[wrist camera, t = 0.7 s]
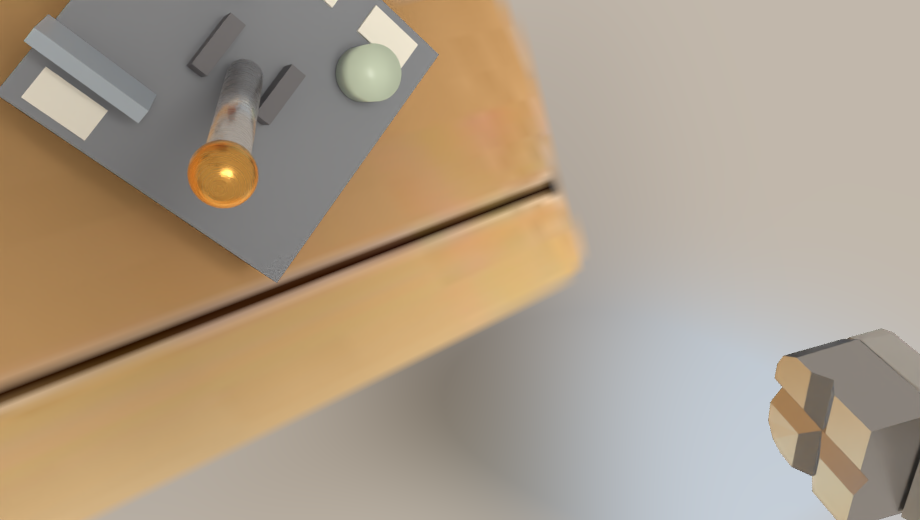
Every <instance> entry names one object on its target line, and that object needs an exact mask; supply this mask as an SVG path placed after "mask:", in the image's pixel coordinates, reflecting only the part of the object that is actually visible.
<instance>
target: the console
mask: <svg viewBox="0 0 920 520" xmlns="http://www.w3.org/2000/svg"><path fill="white" fill-rule="evenodd" d="M56 20H57V21H58V22H60V23H61V24H62V25H64V26H65V27H66V28H68V29H69V30H70V31H72V32H73V33H74V34H76V35H77V36H79V37H80V38H81V39H83V40H84V41H85V42H87V43H88V44H89V45H91V46H92V47H93V48H95V49H96V50H97V51H99V52H100V53H101V54H103V55H104V56H105V57H107V58H108V59H109V60H111V61H112V62H113V63H115V64H116V65H117V66H119V67H120V68H121V69H123V70H124V71H125V72H127V73H128V74H129V75H131V76H132V77H134V78H135V79H136V80H138V81H139V82H140V83H142V84H143V85H144V86H146V87H147V88H148V89H150V90H151V91H152V92H154V93H155V94H156V97H155V99H154V101H153V103H152V105H151V107H150V109H149V111H148V113H147V114H146V115H145V116H144V117H143V118H142V120H141V121H140V122H139V123H137V122H136V121H134V120H133V119H132V118H130V117H129V116H127V115H126V114H125V113H123V112H122V111H120V110H119V109H118V108H116V107H115V106H113V105H112V104H111V103H109V102H108V101H106V100H105V99H104V98H102V97H101V96H99V95H98V94H97V93H95V92H94V91H93V90H91V89H90V88H88V87H87V86H86V85H84V84H83V83H81V82H80V81H79V80H77V79H76V78H74V77H73V76H72V75H70V74H69V73H67V72H66V71H65V70H63V69H62V68H60V67H59V66H58V65H56V64H55V63H53V62H52V61H51V60H49V59H48V58H47V57H45V56H44V55H42V54H41V53H40V52H38V51H37V50H35V49H34V48H33V47H32V48H31V50H30V51H29V52H28V53H27V55H26V56H25V57H24V58H23V60H22V61H21V62H20V63H19V64H18V66H17V67H16V68H15V69H14V71H13V72H12V73H11V74H10V76H9V77H8V78H7V79H6V80H5V82H4V83H3V84H2V85H1V87H0V97H1V98H2V99H4V100H5V101H7V102H8V103H10V104H11V105H13V106H14V107H16V108H17V109H19V110H20V111H22V112H23V113H25V114H26V115H28V116H29V117H31V118H32V119H34V120H35V121H36V122H38V123H39V124H41V125H42V126H44V127H45V128H47V129H48V130H50V131H51V132H53V133H54V134H56V135H57V136H59V137H60V138H62V139H63V140H65V141H66V142H68V143H69V144H71V145H72V146H74V147H75V148H77V149H78V150H80V151H81V152H83V153H84V154H86V155H87V156H89V157H90V158H91V159H93V160H94V161H96V162H97V163H99V164H100V165H102V166H103V167H105V168H106V169H108V170H109V171H111V172H112V173H114V174H115V175H117V176H118V177H120V178H121V179H123V180H124V181H126V182H127V183H129V184H130V185H132V186H133V187H135V188H136V189H138V190H139V191H141V192H142V193H144V194H145V195H146V196H148V197H149V198H151V199H152V200H154V201H155V202H157V203H158V204H160V205H161V206H163V207H164V208H166V209H167V210H169V211H170V212H172V213H173V214H175V215H176V216H178V217H179V218H181V219H182V220H184V221H185V222H187V223H188V224H190V225H191V226H193V227H194V228H196V229H197V230H199V231H200V232H202V233H203V234H204V235H206V236H207V237H209V238H210V239H212V240H213V241H215V242H216V243H218V244H219V245H221V246H222V247H224V248H225V249H227V250H228V251H230V252H231V253H233V254H234V255H236V256H237V257H239V258H240V259H242V260H243V261H245V262H246V263H248V264H249V265H251V266H252V267H254V268H255V269H257V270H258V271H260V272H261V273H263V274H264V275H266V276H267V277H269V278H270V279H272V280H273V281H275V282H276V283H277V282H278V280H279V279H280V278H281V276H282V275H283V273H284V272H285V271H286V269H287V268H288V266H289V265H290V264H291V262H292V261H293V259H294V258H295V257H296V255H297V254H298V252H299V251H300V249H301V248H302V247H303V245H304V244H305V242H306V241H307V240H308V238H309V237H310V235H311V234H312V233H313V231H314V230H315V228H316V227H317V226H318V224H319V223H320V221H321V220H322V218H323V217H324V216H325V214H326V213H327V211H328V210H329V209H330V207H331V206H332V204H333V203H334V202H335V200H336V199H337V197H338V196H339V195H340V193H341V192H342V190H343V189H344V187H345V186H346V185H347V183H348V182H349V180H350V179H351V178H352V176H353V175H354V173H355V172H356V171H357V169H358V168H359V166H360V165H361V164H362V162H363V161H364V159H365V158H366V156H367V155H368V154H369V152H370V151H371V149H372V148H373V147H374V145H375V144H376V142H377V141H378V140H379V138H380V137H381V135H382V134H383V133H384V131H385V130H386V128H387V127H388V125H389V124H390V123H391V121H392V120H393V118H394V117H395V116H396V114H397V113H398V111H399V110H400V109H401V107H402V106H403V104H404V103H405V102H406V100H407V99H408V97H409V96H410V94H411V93H412V92H413V90H414V89H415V87H416V86H417V85H418V83H419V82H420V80H421V79H422V78H423V76H424V75H425V73H426V72H427V71H428V69H429V68H430V66H431V65H432V63H433V62H434V61H435V59H436V58H437V56H438V55H439V54H438V53H436V52H435V51H434V50H433V49H432V48H431V47H430V46H429V45H428V44H427V43H426V42H425V41H424V40H423V39H422V38H421V37H420V36H419V35H418V34H417V33H416V32H414V31H413V30H412V29H411V28H410V27H409V26H408V25H407V24H406V23H405V22H404V21H403V20H402V19H401V18H400V17H399V16H398V15H397V14H396V13H395V12H394V11H392V10H391V9H390V8H389V7H388V6H387V5H386V4H385V3H384V2H383V1H382V0H70V2H69V3H68V4H67V5H66V7H65V8H64V9H63V10H62V11H61V13H60V14H59V15H58V16H57V18H56ZM371 43H377V44H381V45H384V46H386V47H388V48H389V49H390V50H392V52H393V53H394V54H395V55H396V57H397V58H398V60H399V63H400V66H401V82H400V85H399V87H398V89H397V90H396V92H395V93H394V94H393V95H392V96H391V97H389V98H388V99H386V100H383V101H376V102H357V101H354V100H352V99H350V98H348V97H347V96H346V95H345V94H344V93H343V92H342V91H341V89H340V87H339V85H338V83H337V79H336V67H337V63H338V61H339V59H340V57H341V56H342V55H343V54H344V53H345V52H346V51H347V50H349V49H351V48H353V47H357V46H362V45H366V44H371ZM238 59H249V60H252V61H254V62H255V63H256V64H257V65H258V66H259V67H260V68H261V70H262V73H263V85H262V91H261V97H260V103H259V110H258V116H257V122H256V129H255V135H254V141H253V147H252V156H253V157H254V159H255V161H256V164H257V167H258V175H259V177H258V183H257V186H256V189H255V191H254V193H253V194H252V195H251V197H250V198H249V199H248V200H247V201H245V202H244V203H242V204H240V205H238V206H236V207H232V208H216V207H212V206H210V205H207V204H206V203H204V202H202V201H201V200H200V199H199V198H198V197H197V196H196V195H195V194H194V193H193V191H192V189H191V187H190V185H189V182H188V176H187V170H188V164H189V161H190V159H191V157H192V155H193V154H194V153H195V151H196V150H197V149H198V148H200V147H201V146H202V145H204V144H206V142H207V139H208V135H209V132H210V128H211V125H212V121H213V118H214V114H215V110H216V107H217V103H218V100H219V96H220V93H221V89H222V86H223V82H224V79H225V75H226V72H227V69H228V67H229V66H230V64H231V63H232V62H234V61H236V60H238Z"/></svg>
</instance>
